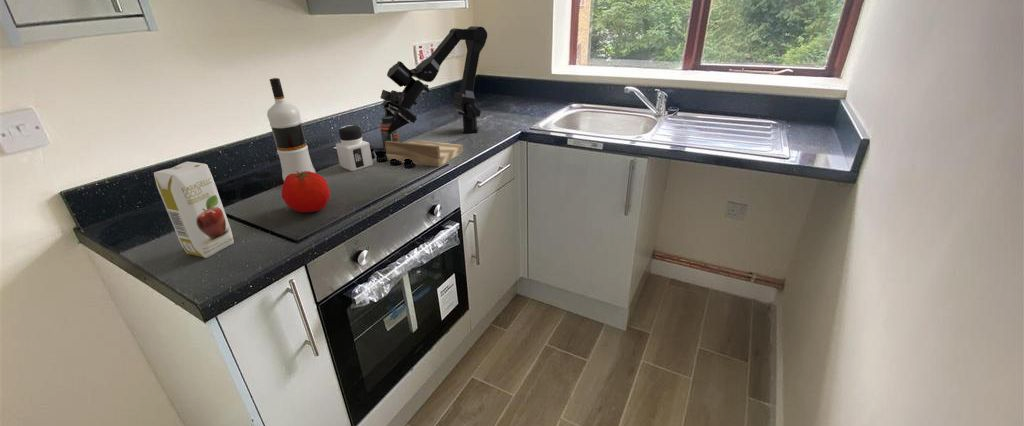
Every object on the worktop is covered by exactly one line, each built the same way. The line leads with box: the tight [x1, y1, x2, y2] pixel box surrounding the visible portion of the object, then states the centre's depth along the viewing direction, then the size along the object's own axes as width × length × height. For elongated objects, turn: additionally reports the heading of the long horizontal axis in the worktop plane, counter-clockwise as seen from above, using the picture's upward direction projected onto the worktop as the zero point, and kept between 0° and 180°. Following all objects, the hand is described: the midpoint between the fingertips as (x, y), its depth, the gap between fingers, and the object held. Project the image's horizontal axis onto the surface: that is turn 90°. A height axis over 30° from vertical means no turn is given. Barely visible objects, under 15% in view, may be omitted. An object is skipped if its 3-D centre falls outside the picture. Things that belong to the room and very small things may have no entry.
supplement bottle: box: [379, 115, 400, 150], centre depth 159 cm, size 6×6×11 cm
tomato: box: [280, 171, 331, 213], centre depth 113 cm, size 11×13×10 cm
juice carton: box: [153, 161, 235, 259], centre depth 94 cm, size 8×9×19 cm
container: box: [335, 124, 374, 172], centre depth 142 cm, size 8×8×13 cm
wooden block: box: [385, 139, 464, 168], centre depth 150 cm, size 16×20×6 cm
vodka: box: [266, 77, 317, 182], centre depth 128 cm, size 9×9×30 cm
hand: (385, 130), depth 158 cm, fingers closed on supplement bottle, 6 cm apart
